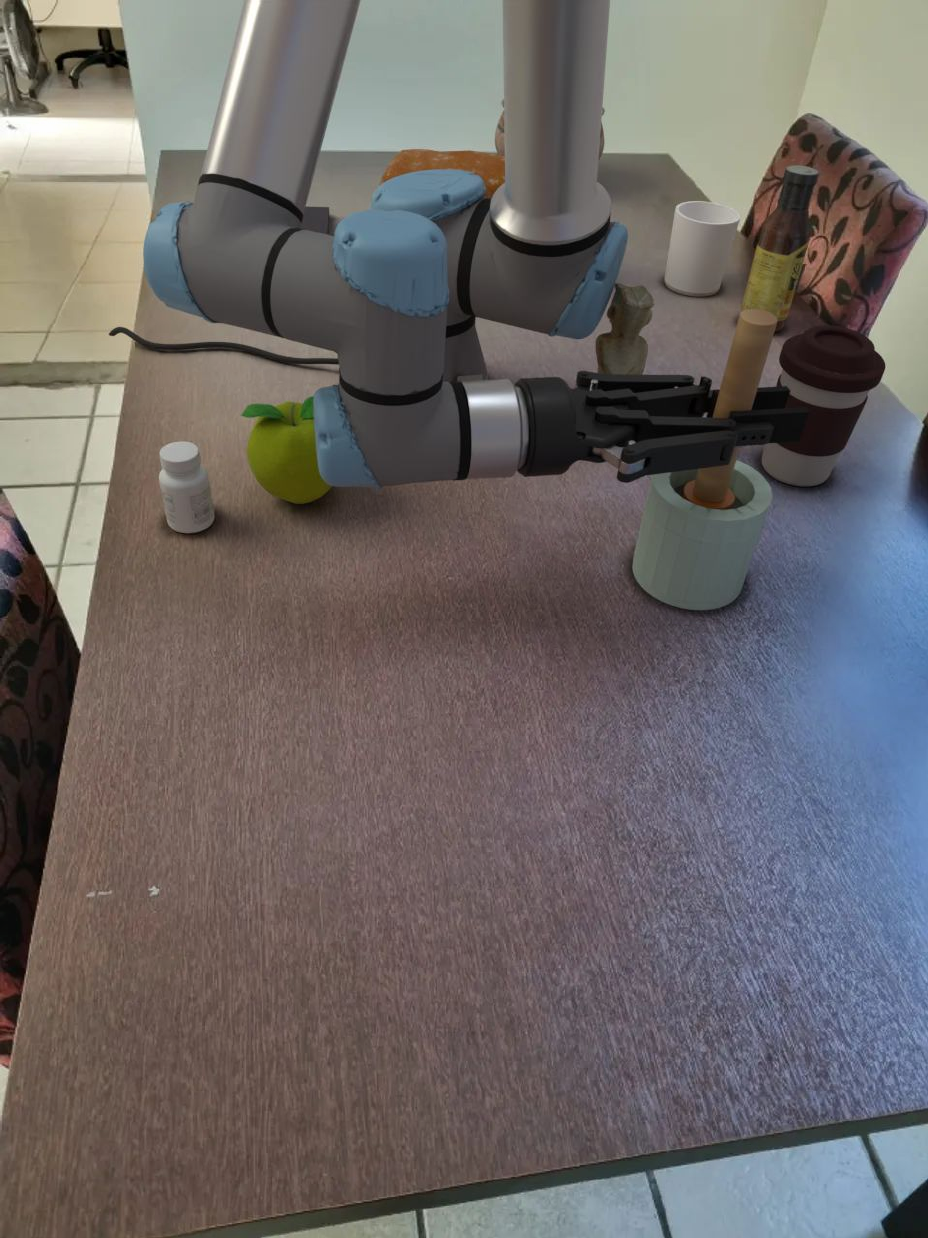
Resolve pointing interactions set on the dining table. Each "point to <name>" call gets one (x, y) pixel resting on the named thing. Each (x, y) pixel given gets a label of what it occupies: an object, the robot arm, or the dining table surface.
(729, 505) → the orange-tipped wooden dowel
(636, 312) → the sculpture
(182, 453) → the pill bottle
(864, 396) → the coffee cup
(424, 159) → the bread
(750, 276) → the sauce bottle
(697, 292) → the mug
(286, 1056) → the dining table surface
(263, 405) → the fruit
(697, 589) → the jar
